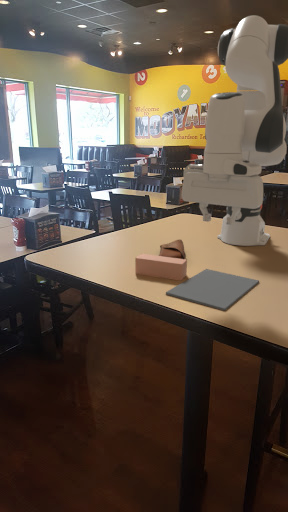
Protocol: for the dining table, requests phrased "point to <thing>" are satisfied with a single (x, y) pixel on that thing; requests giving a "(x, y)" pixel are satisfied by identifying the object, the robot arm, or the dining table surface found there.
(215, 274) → the mat
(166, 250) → the sunglasses case
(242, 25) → the robot arm
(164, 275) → the pink rectangular brick
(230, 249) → the dining table surface
